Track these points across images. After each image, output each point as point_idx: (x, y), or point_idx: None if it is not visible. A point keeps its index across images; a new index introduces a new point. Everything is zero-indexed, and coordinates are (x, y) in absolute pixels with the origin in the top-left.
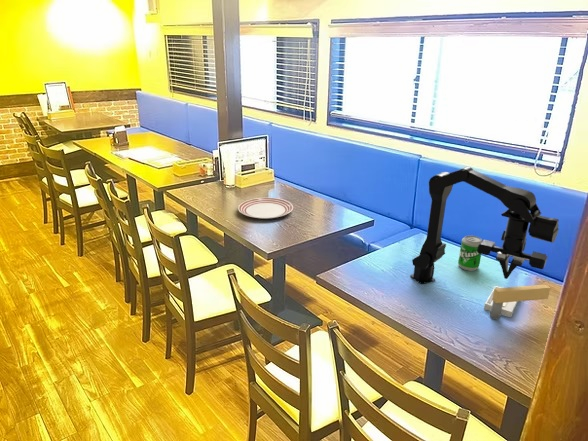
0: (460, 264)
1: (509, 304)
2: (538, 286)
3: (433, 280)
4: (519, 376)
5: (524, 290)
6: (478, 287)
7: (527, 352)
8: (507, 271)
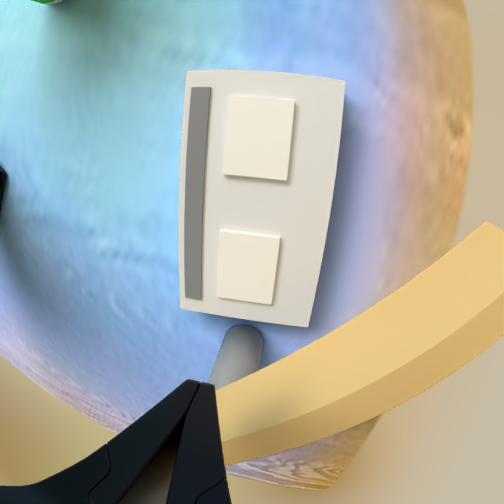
0: (39, 2)
1: (293, 262)
2: (483, 326)
3: (2, 184)
4: (319, 478)
5: (363, 416)
6: (124, 98)
7: (346, 436)
8: (177, 434)
